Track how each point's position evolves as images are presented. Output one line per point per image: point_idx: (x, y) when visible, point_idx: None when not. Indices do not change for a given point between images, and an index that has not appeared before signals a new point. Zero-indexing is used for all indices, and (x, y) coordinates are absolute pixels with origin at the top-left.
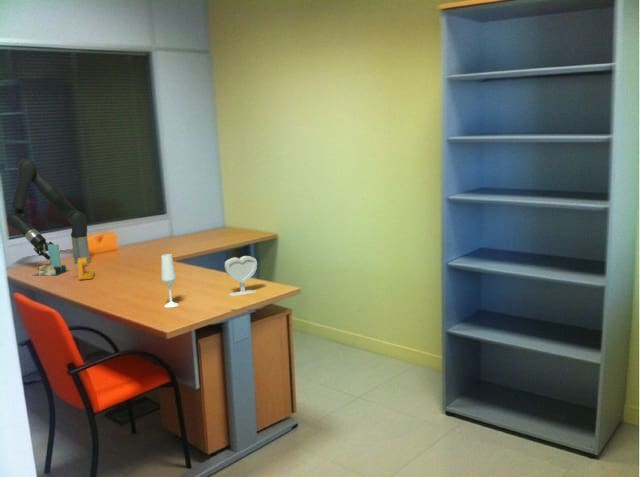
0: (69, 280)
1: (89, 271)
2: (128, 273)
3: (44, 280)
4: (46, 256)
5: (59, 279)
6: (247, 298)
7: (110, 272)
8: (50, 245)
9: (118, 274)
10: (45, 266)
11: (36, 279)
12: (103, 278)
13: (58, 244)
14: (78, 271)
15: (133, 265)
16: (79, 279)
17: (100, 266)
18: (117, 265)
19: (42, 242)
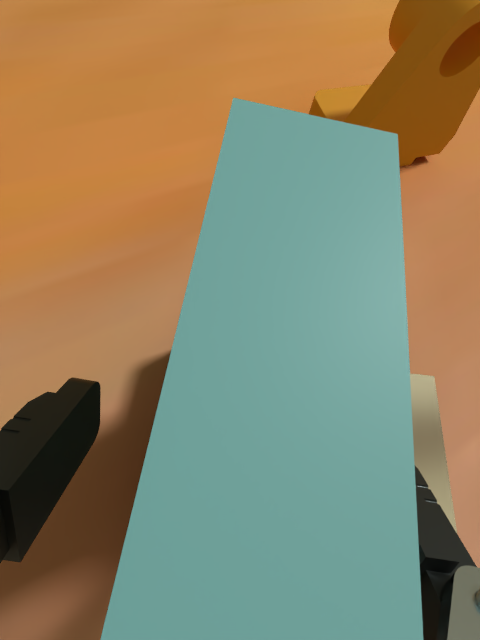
0: (432, 215)
1: (327, 113)
2: (267, 2)
3: (467, 398)
4: (429, 500)
5: (420, 290)
6: None
7: (237, 68)
8: (393, 521)
9: (286, 32)
10: (427, 453)
11: (453, 506)
12: (368, 71)
13: (244, 102)
14: (469, 105)
15: (72, 2)
16: (438, 150)
17: (30, 154)
18: (38, 68)
19: None
